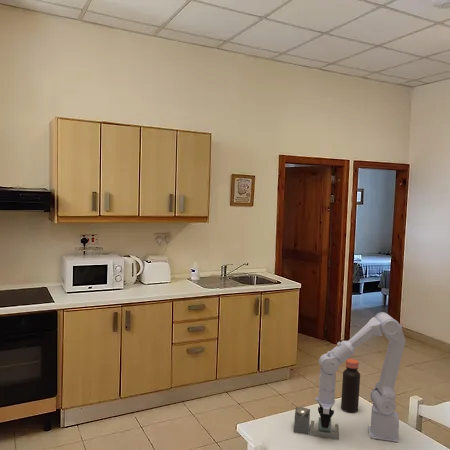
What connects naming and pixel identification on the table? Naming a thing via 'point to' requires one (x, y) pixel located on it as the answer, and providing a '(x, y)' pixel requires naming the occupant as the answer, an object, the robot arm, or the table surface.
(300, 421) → the motor mount
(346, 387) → the bottle
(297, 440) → the table surface
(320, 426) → the pale blue block
